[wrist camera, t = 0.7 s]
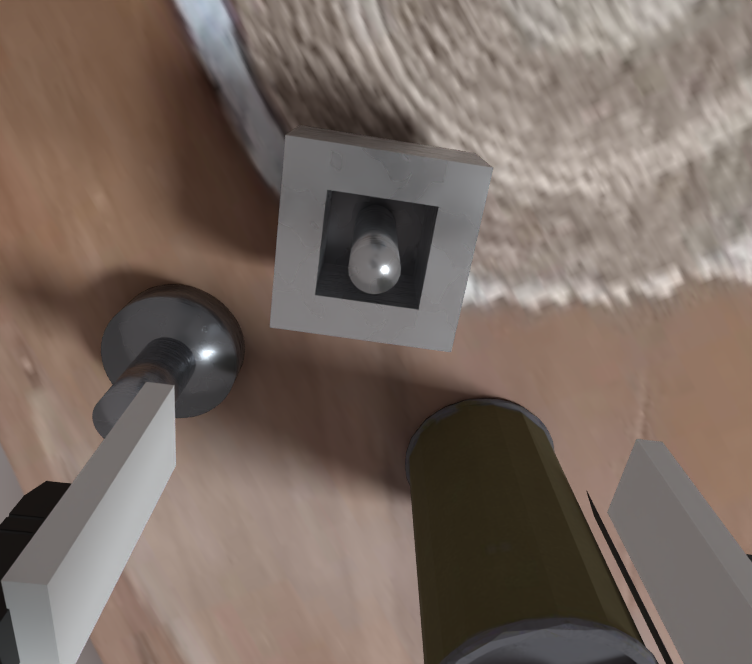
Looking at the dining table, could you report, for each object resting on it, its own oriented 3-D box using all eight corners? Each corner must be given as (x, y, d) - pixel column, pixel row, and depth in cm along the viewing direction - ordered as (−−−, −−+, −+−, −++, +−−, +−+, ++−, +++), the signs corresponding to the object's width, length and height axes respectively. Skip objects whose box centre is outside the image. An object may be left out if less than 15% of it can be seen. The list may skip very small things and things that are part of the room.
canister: (433, 533, 43) (474, 871, 25) (383, 425, 39) (388, 733, 21) (574, 492, 41) (730, 821, 23) (537, 374, 37) (690, 660, 19)
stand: (323, 145, 31) (301, 175, 22) (444, 164, 32) (471, 201, 23) (310, 262, 34) (286, 331, 25) (422, 278, 35) (438, 352, 26)
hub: (116, 275, 35) (35, 338, 26) (248, 294, 35) (208, 361, 27) (120, 389, 38) (49, 476, 30) (241, 404, 38) (204, 494, 30)
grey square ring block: (299, 124, 29) (285, 134, 24) (475, 152, 29) (493, 167, 25) (284, 291, 32) (269, 327, 28) (440, 313, 33) (451, 352, 28)
